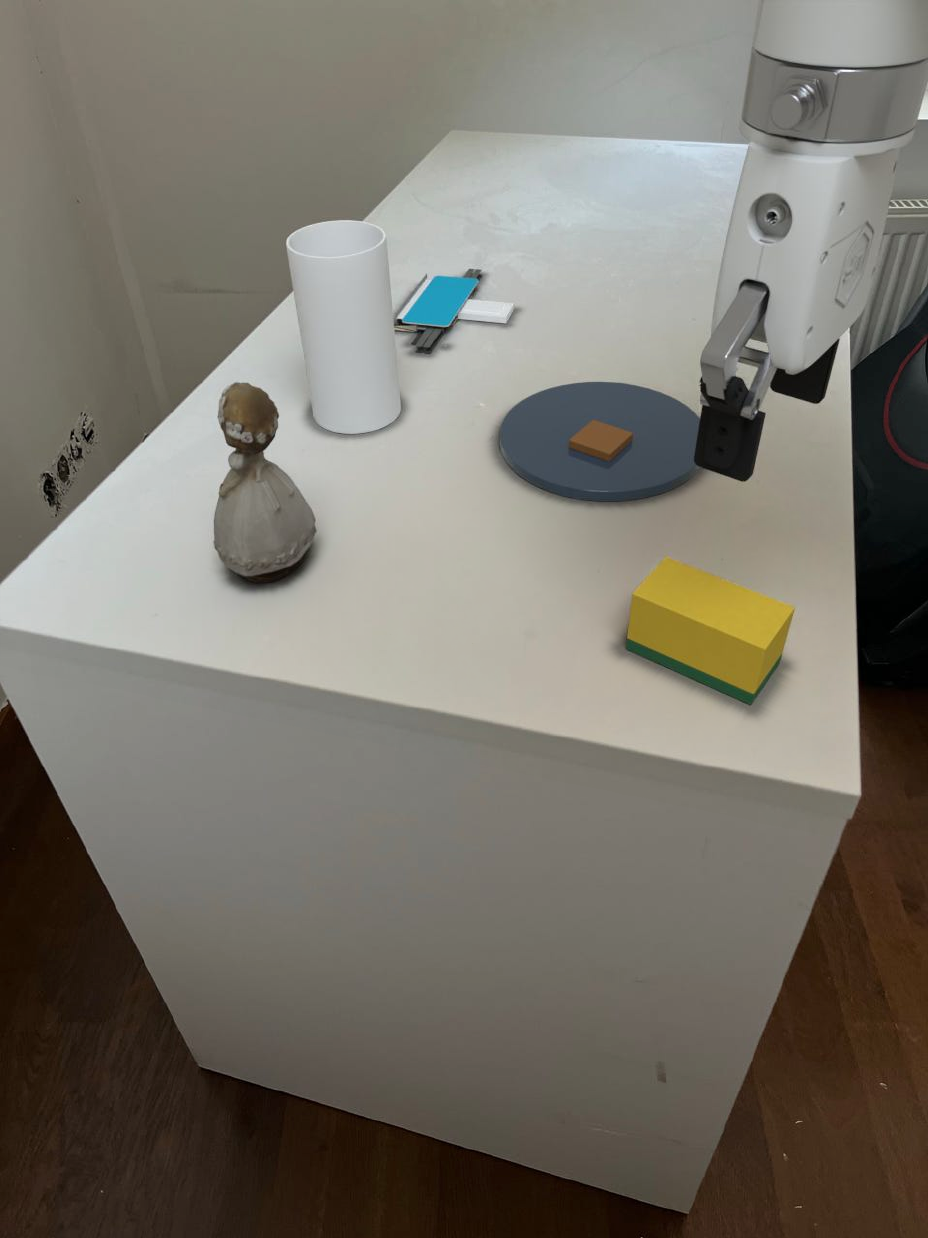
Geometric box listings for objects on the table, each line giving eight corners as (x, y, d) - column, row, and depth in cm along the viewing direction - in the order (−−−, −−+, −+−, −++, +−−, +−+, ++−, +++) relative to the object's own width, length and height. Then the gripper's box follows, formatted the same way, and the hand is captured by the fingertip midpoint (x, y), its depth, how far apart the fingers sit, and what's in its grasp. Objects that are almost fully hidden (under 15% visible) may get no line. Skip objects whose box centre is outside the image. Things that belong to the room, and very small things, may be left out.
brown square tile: (609, 462, 78) (610, 453, 78) (568, 447, 80) (568, 439, 79) (632, 440, 80) (633, 432, 80) (592, 427, 82) (593, 419, 82)
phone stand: (485, 359, 94) (485, 344, 93) (374, 347, 97) (373, 332, 96) (531, 279, 108) (531, 265, 107) (433, 271, 111) (432, 257, 110)
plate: (707, 398, 87) (709, 388, 87) (705, 511, 74) (707, 500, 74) (517, 384, 90) (517, 375, 90) (482, 491, 77) (482, 481, 77)
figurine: (250, 528, 75) (210, 354, 64) (331, 538, 73) (303, 361, 63) (209, 593, 69) (157, 413, 59) (296, 605, 68) (259, 423, 58)
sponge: (750, 705, 59) (765, 649, 56) (625, 649, 63) (631, 593, 60) (779, 663, 62) (795, 606, 58) (657, 611, 66) (665, 555, 63)
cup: (397, 433, 84) (381, 256, 74) (307, 434, 85) (277, 259, 74) (404, 388, 91) (389, 218, 80) (319, 389, 91) (293, 220, 80)
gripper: (840, 163, 35) (757, 531, 46) (978, 64, 45) (881, 387, 56) (661, 132, 38) (625, 481, 50) (825, 46, 48) (763, 354, 60)
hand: (761, 431), depth 53 cm, fingers open, 9 cm apart
